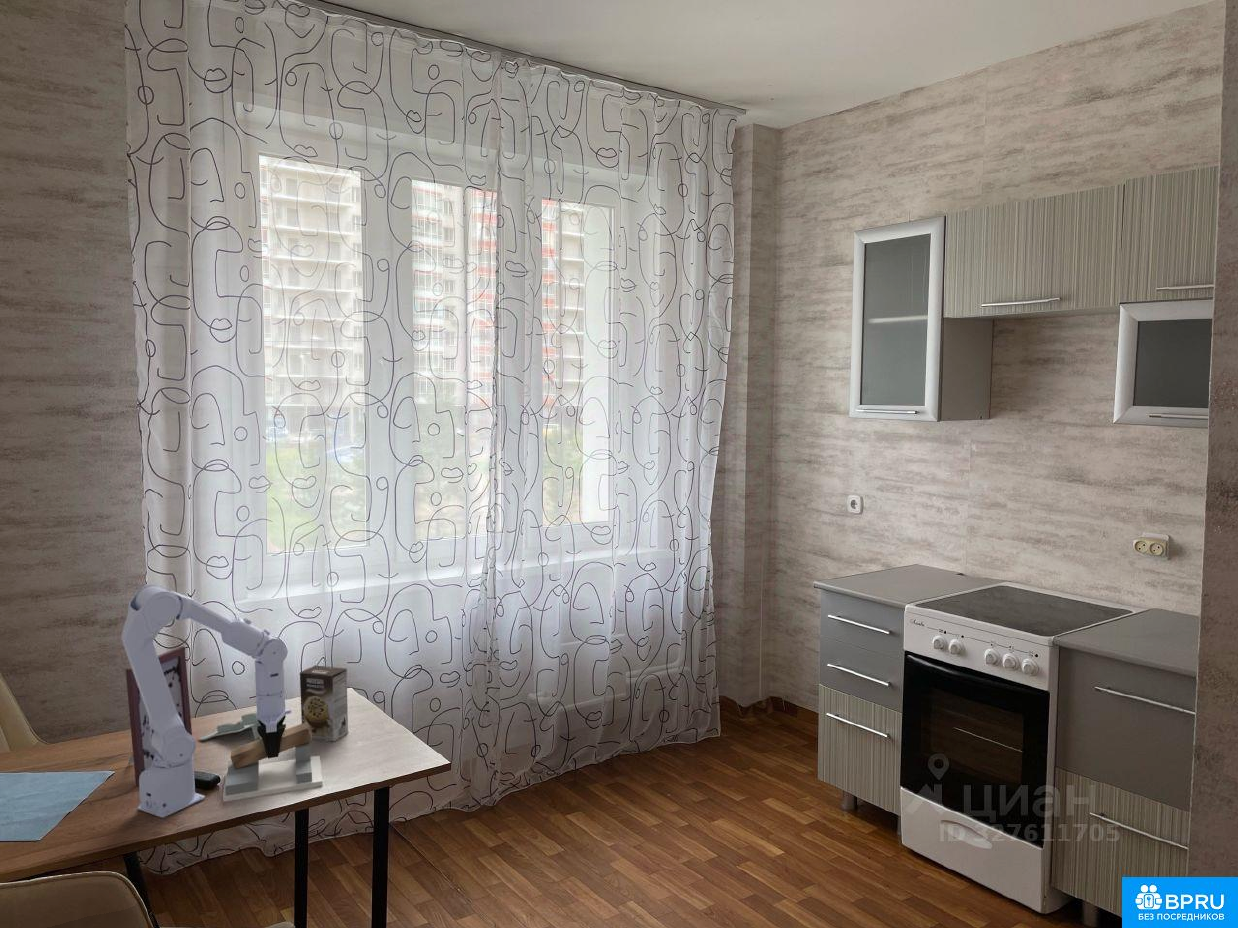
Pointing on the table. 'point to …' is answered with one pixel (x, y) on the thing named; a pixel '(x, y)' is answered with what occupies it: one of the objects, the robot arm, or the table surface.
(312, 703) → the coffee box
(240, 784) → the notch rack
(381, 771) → the table surface
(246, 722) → the metal bracket
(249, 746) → the walnut bar
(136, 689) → the picture frame
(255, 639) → the robot arm
